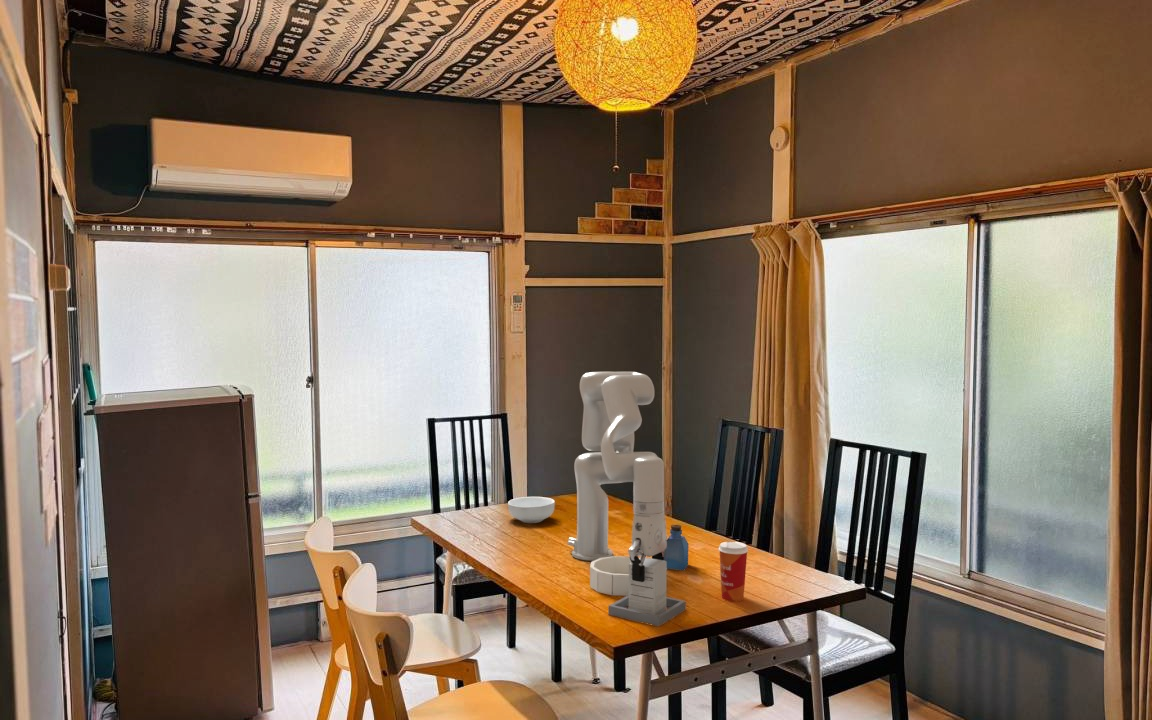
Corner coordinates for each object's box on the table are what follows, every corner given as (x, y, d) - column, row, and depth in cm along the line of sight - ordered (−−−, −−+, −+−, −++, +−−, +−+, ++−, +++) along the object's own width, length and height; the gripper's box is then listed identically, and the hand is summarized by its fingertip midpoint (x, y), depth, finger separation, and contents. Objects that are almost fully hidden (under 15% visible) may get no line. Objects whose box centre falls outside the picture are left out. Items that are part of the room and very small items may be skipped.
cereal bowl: (528, 512, 309) (528, 494, 309) (564, 519, 299) (564, 500, 299) (498, 521, 295) (498, 502, 295) (534, 529, 286) (534, 508, 285)
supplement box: (640, 605, 210) (640, 556, 210) (667, 610, 207) (667, 560, 206) (627, 614, 204) (627, 563, 203) (654, 619, 200) (655, 568, 200)
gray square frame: (608, 614, 204) (608, 605, 203) (637, 598, 215) (637, 590, 215) (658, 626, 196) (658, 617, 196) (685, 609, 207) (685, 601, 207)
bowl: (578, 587, 224) (578, 567, 223) (611, 571, 238) (611, 552, 237) (632, 599, 214) (632, 578, 214) (664, 582, 228) (664, 563, 228)
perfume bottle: (688, 564, 245) (688, 524, 245) (683, 570, 239) (684, 529, 239) (667, 562, 247) (668, 522, 247) (663, 568, 242) (663, 527, 241)
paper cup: (714, 593, 220) (715, 541, 219) (742, 592, 220) (743, 540, 220) (722, 603, 212) (722, 549, 211) (751, 602, 213) (752, 548, 212)
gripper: (644, 515, 195) (644, 587, 195) (678, 503, 209) (678, 570, 210) (617, 511, 199) (616, 582, 200) (652, 499, 213) (652, 565, 214)
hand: (648, 576), depth 205 cm, fingers open, 9 cm apart
